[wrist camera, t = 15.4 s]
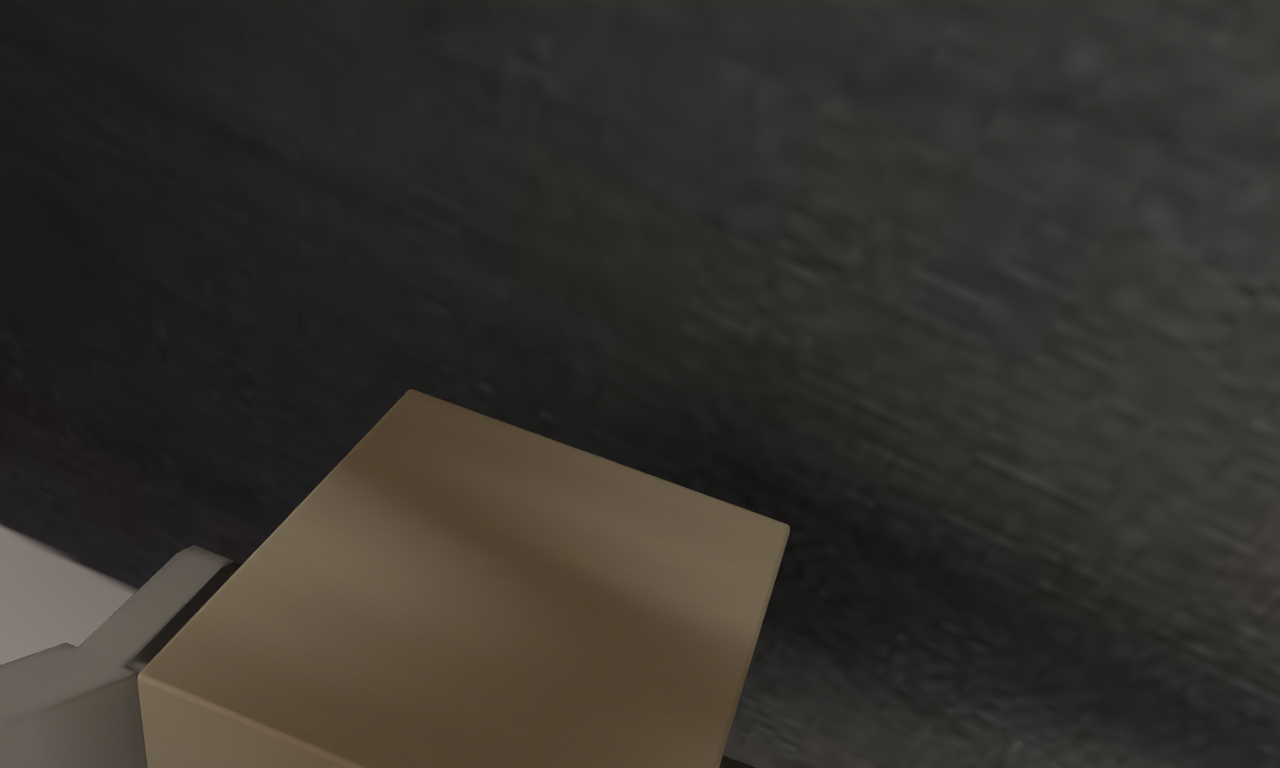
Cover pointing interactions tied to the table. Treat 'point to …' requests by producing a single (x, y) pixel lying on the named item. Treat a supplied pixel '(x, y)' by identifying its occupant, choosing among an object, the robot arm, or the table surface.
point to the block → (473, 615)
